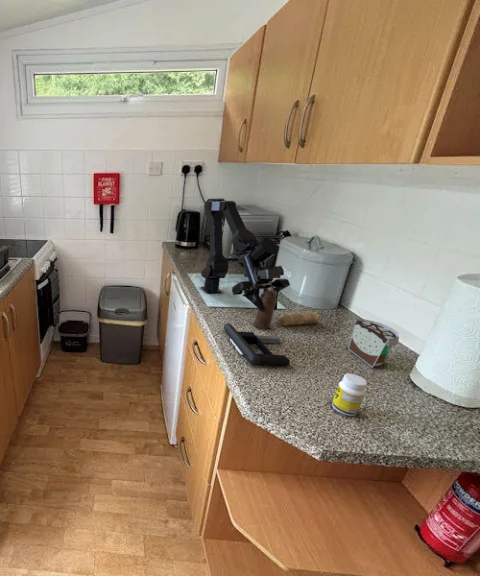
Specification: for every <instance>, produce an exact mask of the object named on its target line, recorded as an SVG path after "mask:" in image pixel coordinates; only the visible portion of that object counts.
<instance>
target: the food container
mask: <svg viewBox="0 0 480 576" xmlns="http://www.w3.org/2000/svg"><path fill="white" fill-rule="evenodd" d="M352 325H353V330H352V333H351V337H350V340H349V344H348V348H347V350H348V351H349V352H351V353H352V354H354V355H355V356H356V357H358V358H359V359H360V360H362V362H364V363H365V364H367V365H368V366H369V367H371V368H372V369H378V368H380V367H381V366H382V365H383V363H384V362H385V360H386V359H387V357H388V355H389V353H390V352H391V350H392V349H393V347H395V346H397V345H398V344H399V340H400V336H399V333H398V332H397V330H395V329H393V328H392V327H390V326H388V325H386V324H383V323H382V322H381V323H380V322H378V321H374V320H370V319H365V318H356V319H355V320H354V321H353V323H352Z"/></svg>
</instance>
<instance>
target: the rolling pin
mask: <svg viewBox="0 0 480 576" xmlns="http://www.w3.org/2000/svg"><path fill="white" fill-rule="evenodd" d="M319 321H320V314H319V313H317V312H315V311H305V312H292V313H283V314H280V315H279V316H278V322H279V324H280V325H282V326H285V327H286V326H299V325H308V324H316V323H318V322H319Z"/></svg>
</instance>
